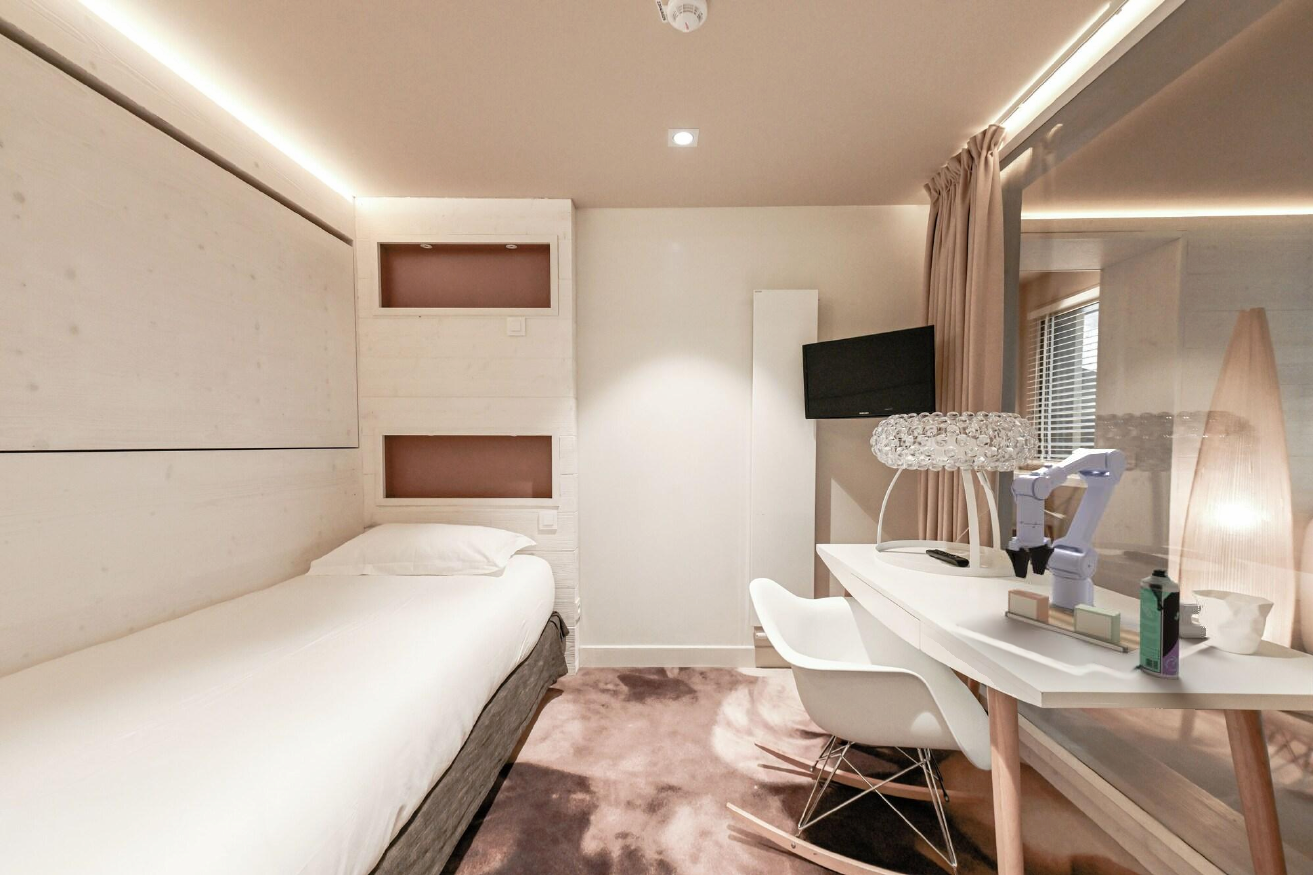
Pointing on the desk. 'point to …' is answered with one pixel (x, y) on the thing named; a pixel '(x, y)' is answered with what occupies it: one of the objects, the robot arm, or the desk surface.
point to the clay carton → (1029, 604)
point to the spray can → (1159, 625)
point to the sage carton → (1097, 622)
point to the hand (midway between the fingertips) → (1029, 575)
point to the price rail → (1068, 632)
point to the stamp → (1190, 621)
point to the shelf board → (1067, 621)
